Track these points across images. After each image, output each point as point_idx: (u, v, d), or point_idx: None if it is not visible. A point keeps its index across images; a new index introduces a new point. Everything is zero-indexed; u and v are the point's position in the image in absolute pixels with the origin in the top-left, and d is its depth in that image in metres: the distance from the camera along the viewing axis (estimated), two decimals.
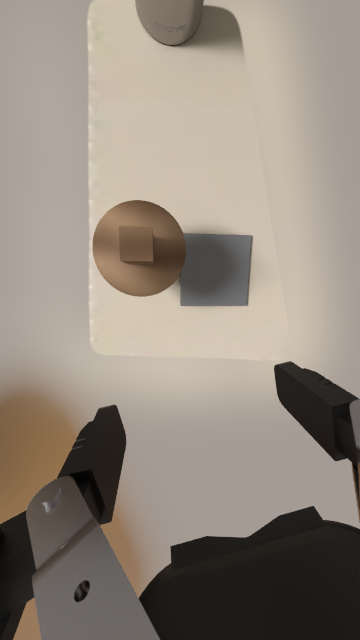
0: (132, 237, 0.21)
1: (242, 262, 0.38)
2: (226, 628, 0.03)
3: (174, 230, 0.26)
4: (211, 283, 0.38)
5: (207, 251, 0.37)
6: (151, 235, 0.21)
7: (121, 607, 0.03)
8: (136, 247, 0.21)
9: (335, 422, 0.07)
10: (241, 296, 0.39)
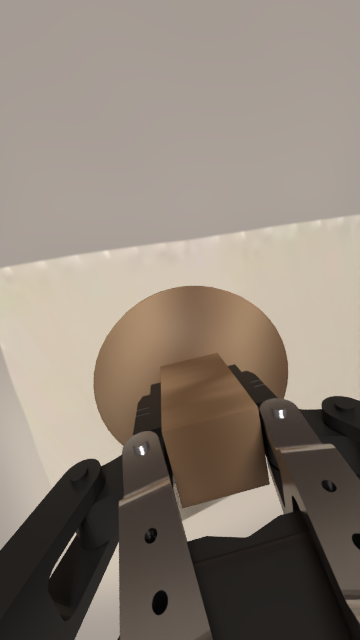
0: (233, 446, 0.07)
1: None
2: (226, 628, 0.03)
3: None
4: None
5: None
6: (248, 487, 0.08)
7: (179, 570, 0.04)
8: (208, 464, 0.07)
9: None
10: None
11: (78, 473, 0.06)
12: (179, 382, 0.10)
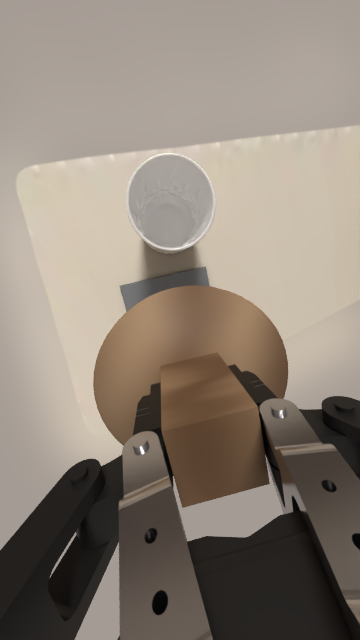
0: (233, 446, 0.07)
1: None
2: (226, 628, 0.03)
3: None
4: None
5: None
6: (248, 486, 0.08)
7: (179, 570, 0.04)
8: (208, 463, 0.07)
9: None
10: None
11: (78, 474, 0.06)
12: (179, 382, 0.10)
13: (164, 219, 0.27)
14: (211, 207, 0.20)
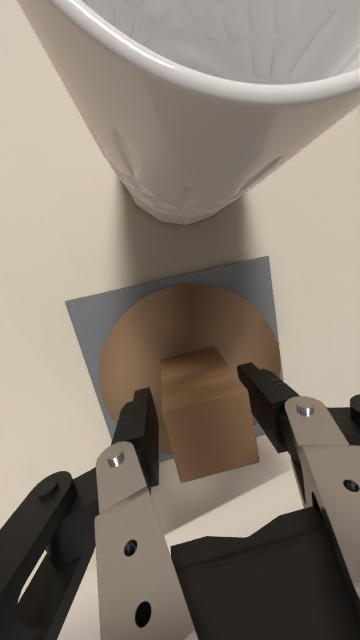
0: (226, 426, 0.08)
1: None
2: (226, 628, 0.03)
3: None
4: None
5: None
6: (240, 464, 0.09)
7: (161, 577, 0.03)
8: (203, 442, 0.08)
9: (275, 417, 0.08)
10: None
11: (47, 487, 0.06)
12: (178, 372, 0.10)
13: None
14: None
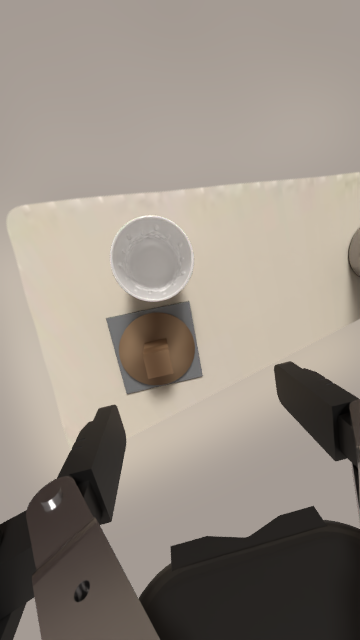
0: (162, 360, 0.27)
1: None
2: (226, 628, 0.03)
3: (178, 372, 0.33)
4: None
5: None
6: (167, 373, 0.27)
7: (121, 607, 0.03)
8: (155, 365, 0.27)
9: (335, 422, 0.07)
10: (135, 385, 0.33)
11: None
12: (150, 346, 0.29)
13: (149, 259, 0.28)
14: (190, 262, 0.21)
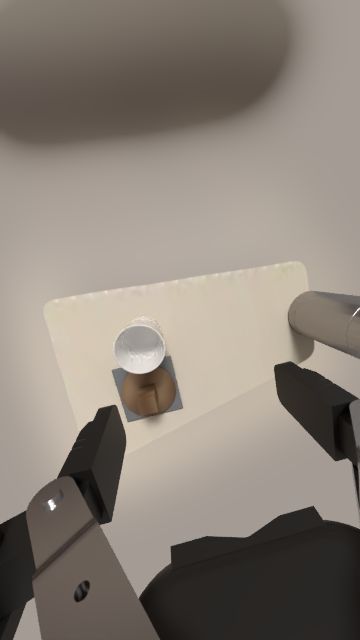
0: (150, 404, 0.39)
1: None
2: (226, 628, 0.03)
3: (164, 406, 0.45)
4: None
5: None
6: (154, 412, 0.39)
7: (121, 607, 0.03)
8: (145, 407, 0.39)
9: (335, 422, 0.07)
10: (133, 415, 0.46)
11: None
12: (142, 391, 0.41)
13: (140, 332, 0.41)
14: (163, 348, 0.34)
